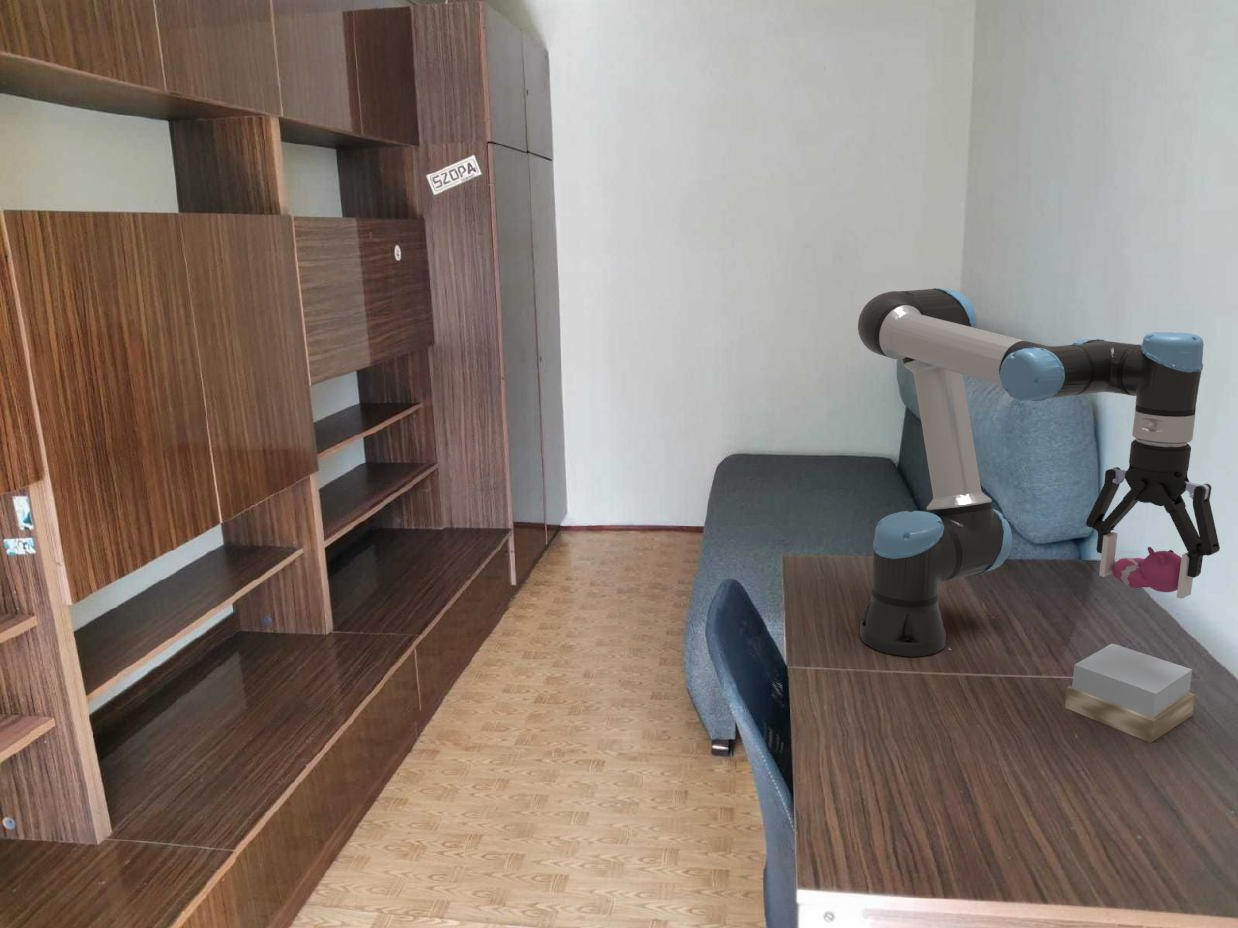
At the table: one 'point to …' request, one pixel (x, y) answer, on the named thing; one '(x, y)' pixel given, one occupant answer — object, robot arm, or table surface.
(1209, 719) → the table surface
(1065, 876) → the table surface
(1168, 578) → the toy
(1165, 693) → the upper block
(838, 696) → the table surface
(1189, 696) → the lower slab
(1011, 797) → the table surface
